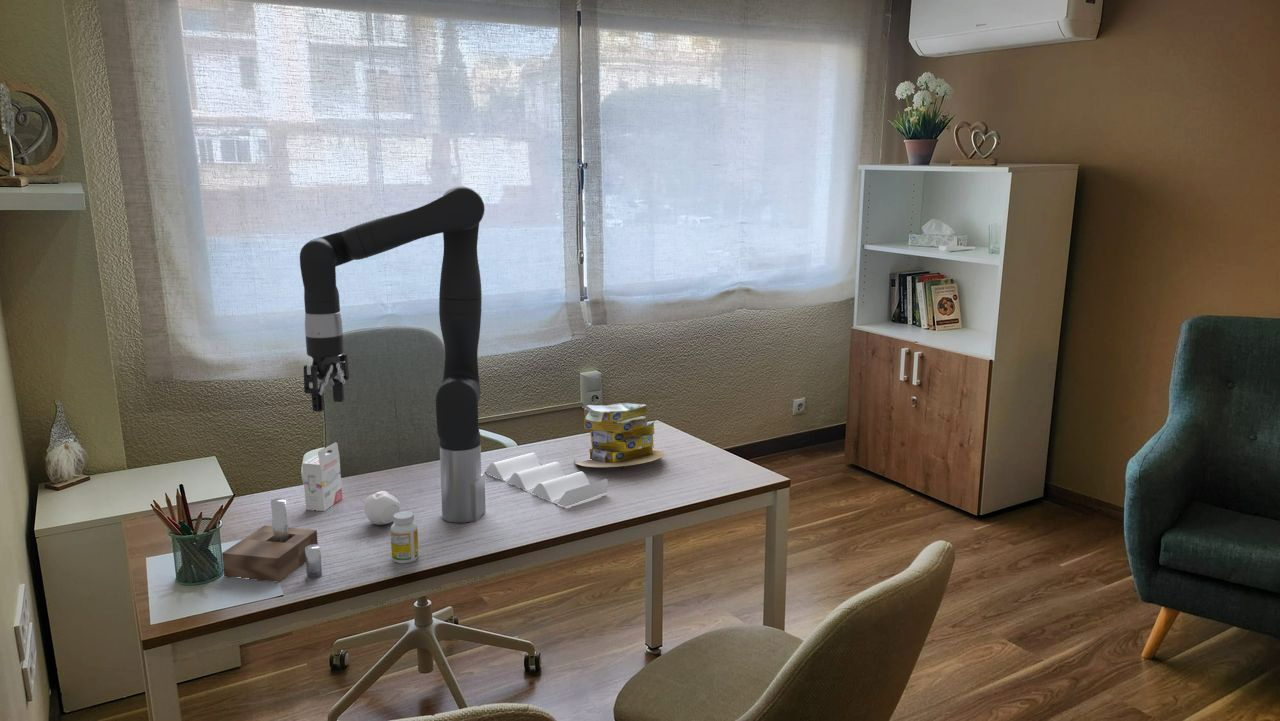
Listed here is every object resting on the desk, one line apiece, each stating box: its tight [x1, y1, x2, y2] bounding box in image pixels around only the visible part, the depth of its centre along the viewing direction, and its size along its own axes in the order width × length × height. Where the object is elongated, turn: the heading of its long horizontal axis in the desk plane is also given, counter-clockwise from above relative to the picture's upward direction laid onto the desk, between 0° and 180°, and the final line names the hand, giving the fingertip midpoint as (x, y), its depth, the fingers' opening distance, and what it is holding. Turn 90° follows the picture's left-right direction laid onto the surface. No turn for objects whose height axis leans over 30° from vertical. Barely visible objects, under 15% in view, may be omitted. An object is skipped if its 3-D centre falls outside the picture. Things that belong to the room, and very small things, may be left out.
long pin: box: [270, 497, 289, 543], centre depth 177 cm, size 3×3×13 cm
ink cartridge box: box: [301, 441, 343, 512], centre depth 207 cm, size 9×5×15 cm, turn 168°
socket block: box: [221, 525, 319, 583], centre depth 176 cm, size 12×14×5 cm
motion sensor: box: [363, 490, 401, 526], centre depth 197 cm, size 8×8×8 cm
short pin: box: [305, 544, 323, 580], centre depth 172 cm, size 3×3×6 cm
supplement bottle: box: [390, 510, 419, 564], centre depth 179 cm, size 5×5×10 cm
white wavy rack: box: [484, 452, 608, 507], centre depth 224 cm, size 13×35×5 cm, turn 44°
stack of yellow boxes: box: [575, 402, 665, 468], centre depth 240 cm, size 25×25×17 cm
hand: (328, 406), depth 190 cm, fingers open, 8 cm apart
